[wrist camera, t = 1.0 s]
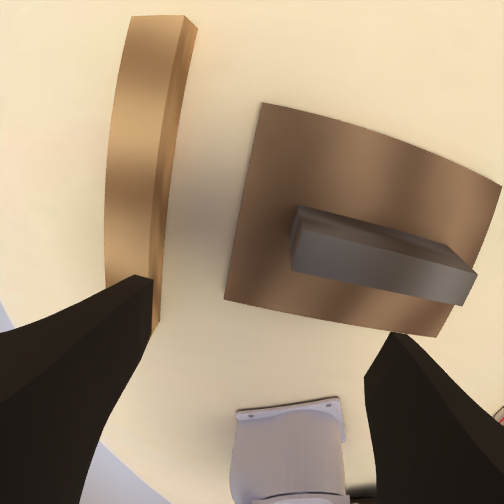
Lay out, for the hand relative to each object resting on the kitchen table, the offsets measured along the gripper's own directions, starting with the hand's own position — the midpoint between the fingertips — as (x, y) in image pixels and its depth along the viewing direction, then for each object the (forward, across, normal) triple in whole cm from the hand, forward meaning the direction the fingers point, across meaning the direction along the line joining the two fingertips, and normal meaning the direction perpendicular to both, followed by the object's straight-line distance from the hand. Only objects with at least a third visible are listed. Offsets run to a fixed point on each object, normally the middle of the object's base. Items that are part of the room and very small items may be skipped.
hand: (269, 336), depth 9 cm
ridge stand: (+10, -6, -1) cm, 12 cm away
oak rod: (+11, +8, 0) cm, 14 cm away
